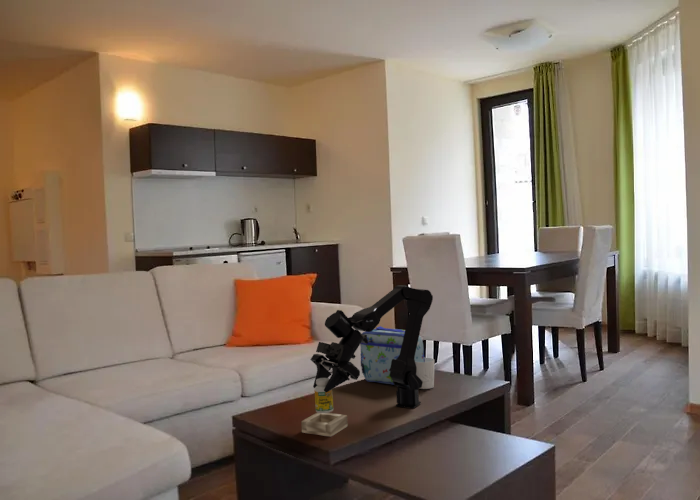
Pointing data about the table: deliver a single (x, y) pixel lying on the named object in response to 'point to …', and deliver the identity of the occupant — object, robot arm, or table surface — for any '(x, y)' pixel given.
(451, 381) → the table surface
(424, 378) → the white cup
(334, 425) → the holder
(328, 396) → the supplement bottle
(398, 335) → the lunch box
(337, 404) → the table surface
